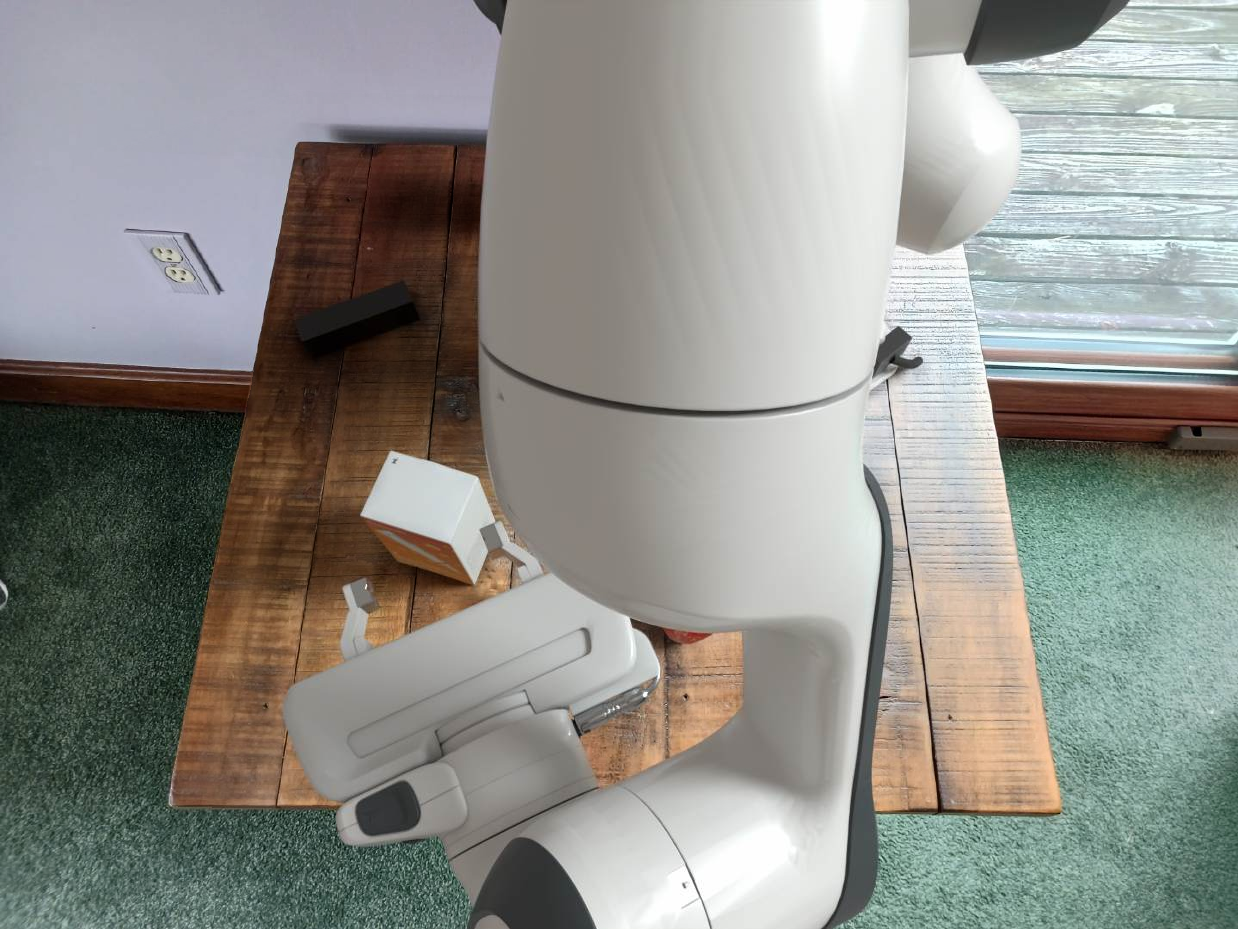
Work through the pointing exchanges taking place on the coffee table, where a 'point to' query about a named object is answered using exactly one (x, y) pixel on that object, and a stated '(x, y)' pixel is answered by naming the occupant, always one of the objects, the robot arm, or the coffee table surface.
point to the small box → (430, 516)
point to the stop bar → (357, 319)
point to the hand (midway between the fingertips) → (424, 554)
